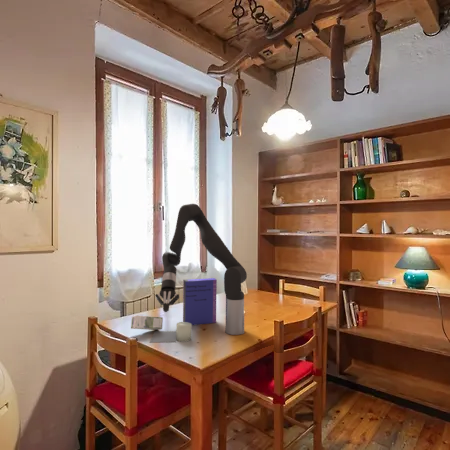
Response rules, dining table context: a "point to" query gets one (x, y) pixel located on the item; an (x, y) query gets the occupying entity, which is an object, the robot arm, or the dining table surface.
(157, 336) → the felt mat
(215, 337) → the dining table surface
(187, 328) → the pillar candle
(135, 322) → the syrup box
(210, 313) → the purple book
